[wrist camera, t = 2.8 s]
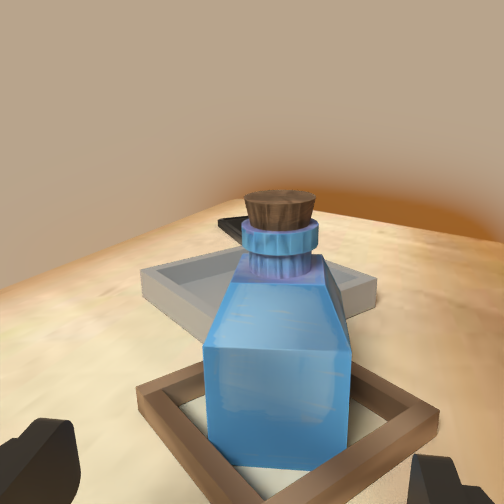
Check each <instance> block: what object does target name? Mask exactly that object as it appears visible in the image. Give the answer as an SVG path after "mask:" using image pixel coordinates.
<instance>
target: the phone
mask: <svg viewBox="0 0 504 504" xmlns="http://www.w3.org/2000/svg"><path fill="white" fill-rule="evenodd" d="M247 219H249V217H248V216H241V217H232V218H223V219H219V220H218V227H220V228H221V229H222V230H223V231H225V232H226V233H227V234H228V235H229V236H231V237H232V238H233V239H234V240H236V241H237V242H238V243H239V244H241V245H242V222H243V221H244V220H247Z"/></svg>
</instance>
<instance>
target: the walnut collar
mask: <svg viewBox="0 0 504 504" xmlns="http://www.w3.org/2000/svg"><path fill="white" fill-rule="evenodd" d="M136 394H137V402H138V410H139V412H140V413H141V414H142V416H143V417H144V418H145V419H146V421H147V422H148V423H149V425H150V426H151V427H152V428H153V430H154V431H155V432H156V433H157V435H158V436H159V437H160V439H161V440H162V441H163V442H164V444H165V445H166V446H167V448H168V449H169V450H170V451H171V453H172V454H173V455H174V457H175V458H176V459H177V460H178V462H179V463H180V464H181V466H182V467H183V468H184V469H185V471H186V472H187V473H188V474H189V476H190V477H191V478H192V480H193V481H194V482H195V483H196V485H197V486H198V487H199V489H200V490H201V491H202V492H203V494H204V495H205V496H206V498H207V499H208V500H209V501H210V503H211V504H345V503H346V502H348V501H349V500H350V499H352V498H353V497H354V496H356V495H357V494H359V493H360V492H361V491H363V490H364V489H365V488H367V487H368V486H369V485H371V484H372V483H373V482H375V481H376V480H377V479H379V478H380V477H381V476H383V475H384V474H385V473H387V472H388V471H390V470H391V469H392V468H394V467H395V466H396V465H398V464H399V463H400V462H402V461H403V460H404V459H406V458H407V457H408V456H410V455H411V454H412V453H414V452H415V451H416V450H418V449H419V448H420V447H422V446H423V445H425V444H426V443H427V442H429V441H430V440H431V439H433V438H434V437H435V436H436V435H437V428H438V420H439V413H440V410H439V409H437V408H435V407H433V406H431V405H430V404H428V403H426V402H424V401H422V400H421V399H419V398H417V397H415V396H413V395H412V394H410V393H408V392H406V391H405V390H403V389H401V388H399V387H397V386H396V385H394V384H392V383H390V382H388V381H387V380H385V379H383V378H381V377H379V376H378V375H376V374H374V373H372V372H370V371H369V370H367V369H365V368H363V367H362V366H360V365H358V364H356V363H354V362H353V361H351V377H350V395H349V396H350V397H351V398H353V399H354V400H356V401H358V402H359V403H361V404H362V405H364V406H365V407H367V408H368V409H370V410H372V411H373V412H375V413H376V414H378V415H379V416H381V417H382V418H384V419H386V420H387V421H388V422H387V423H385V424H384V425H382V426H381V427H379V428H378V429H376V430H374V431H373V432H371V433H370V434H368V435H367V436H365V437H364V438H362V439H361V440H359V441H357V442H356V443H354V444H353V445H351V446H350V447H348V448H347V449H345V450H343V451H342V452H340V453H339V454H337V455H336V456H334V457H333V458H331V459H330V460H328V461H326V462H325V463H323V464H322V465H320V466H319V467H317V468H316V469H314V470H312V471H311V472H309V473H308V474H306V475H305V476H303V477H302V478H300V479H299V480H297V481H295V482H294V483H292V484H291V485H289V486H288V487H286V488H285V489H283V490H282V491H280V492H278V493H277V494H275V495H274V496H272V497H271V498H269V499H268V500H266V501H264V500H263V499H262V498H261V497H260V496H259V495H258V494H257V493H256V491H255V490H254V489H253V488H252V487H251V486H250V485H249V484H248V483H247V482H246V481H245V479H244V478H243V477H242V476H241V475H240V474H239V473H238V472H237V471H236V470H235V469H234V468H233V466H232V465H231V464H230V463H229V462H228V461H227V460H226V459H225V458H224V457H223V456H222V455H221V453H220V452H219V451H218V450H217V449H216V448H215V447H214V446H213V445H212V444H211V443H210V442H209V440H208V439H207V438H206V437H205V436H204V435H203V434H202V433H201V432H200V431H199V430H198V429H197V427H196V426H195V425H194V424H193V423H192V422H191V421H190V420H189V419H188V418H187V417H186V415H185V414H184V413H183V412H182V411H181V410H180V409H179V408H178V407H177V406H179V405H181V404H184V403H186V402H188V401H191V400H193V399H195V398H197V397H200V396H202V395H204V394H205V379H204V363H203V361H201V362H199V363H196V364H194V365H191V366H188V367H186V368H183V369H181V370H178V371H175V372H173V373H170V374H168V375H165V376H163V377H160V378H157V379H155V380H152V381H150V382H147V383H144V384H142V385H139V386H137V387H136Z"/></svg>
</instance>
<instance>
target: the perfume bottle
mask: <svg viewBox="0 0 504 504" xmlns="http://www.w3.org/2000/svg"><path fill="white" fill-rule="evenodd" d="M315 198H316V196H315V195H314V194H312V193H309V192H304V191H295V190H268V191H259V192H254V193H250V194H247V195H245V196H244V200H245V204H246V208H247V212H248V217H249V219H247V220H244V221H243V222H242V247H244V248H245V249H246V250H248V251H249V253H243V254H242V256H241V258H240V261H239V263H238V265H237V268H236V270H235V272H234V274H233V277H232V279H231V281H230V283H229V286H228V288H227V290H226V293H225V295H224V297H223V300H222V302H221V304H220V307H219V309H218V311H217V314H216V316H215V318H214V321H213V323H212V325H211V328H210V330H209V332H208V335H207V337H206V339H205V342H204V344H203V346H202V347H203V363H204V379H205V395H206V411H207V427H208V440H209V442H210V443H211V444H212V445H213V446H214V447H215V448H216V449H217V450H218V451H219V452H220V453H221V455H222V456H223V457H224V458H225V459H226V460H227V461H228V462H229V463H230V464H231V465H234V466H248V467H262V468H275V469H289V470H303V471H312V470H314V469H316V468H317V467H319V466H320V465H322V464H323V463H325V462H326V461H328V460H330V459H331V458H333V457H334V456H336V455H337V454H339V453H340V452H342V451H343V450H345V449H347V432H348V413H349V395H350V377H351V359H352V351H351V345H350V340H349V334H348V329H347V323H346V318H345V312H344V307H343V301H342V296H341V291H340V289H339V287H338V285H337V283H336V281H335V279H334V277H333V275H332V273H331V271H330V269H329V267H328V265H327V263H326V261H325V259H324V257H323V256H322V254H311V251H312V250H313V249H315V248H316V247H317V245H318V229H319V224H318V222H317V221H316V220H314V219H312V218H311V215H312V211H313V207H314V203H315Z"/></svg>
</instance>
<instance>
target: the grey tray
mask: <svg viewBox="0 0 504 504" xmlns="http://www.w3.org/2000/svg"><path fill="white" fill-rule="evenodd" d="M243 253H249V251H248V250H246V249H245V248H244V247H242V246H239V247H235V248H231V249H226V250H222V251H218V252H214V253H209V254H205V255H201V256H196V257H192V258H188V259H184V260H179V261H175V262H171V263H167V264H162V265H158V266H154V267H150V268H145V269H141V270H140V275H141V285H142V294H143V297H144V298H145V299H147V300H148V301H149V302H150V303H152V304H153V305H154V306H156V307H157V308H158V309H159V310H161V311H162V312H163V313H165V314H166V315H167V316H168V317H170V318H171V319H172V320H174V321H175V322H176V323H177V324H179V325H180V326H181V327H183V328H184V329H185V330H186V331H188V332H189V333H190V334H192V335H193V336H194V337H195V338H197V339H198V340H199V341H201V342H202V343H203V344H204V342H205V339H206V337H207V335H208V332H209V330H210V328H211V325H212V323H213V321H214V318H215V316H216V314H217V311H218V309H219V307H220V304H221V302H222V300H223V297H224V295H225V293H226V290H227V288H228V286H229V283H230V281H231V279H232V277H233V274H234V272H235V270H236V268H237V265H238V263H239V261H240V258H241V256H242V254H243ZM325 261H326V263H327V265H328V267H329V269H330V271H331V273H332V275H333V277H334V279H335V281H336V283H337V285H338V287H339V289H340V291H341V296H342V301H343V307H344V312H345V318H346V319H347V318H350V317H352V316H354V315H357V314H359V313H362V312H364V311H367V310H369V309H371V308H374V307H375V303H376V289H377V278H375V277H372V276H369V275H367V274H364V273H361V272H358V271H355V270H352V269H350V268H347V267H344V266H341V265H338V264H335V263H333V262H330V261H327V260H325Z"/></svg>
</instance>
